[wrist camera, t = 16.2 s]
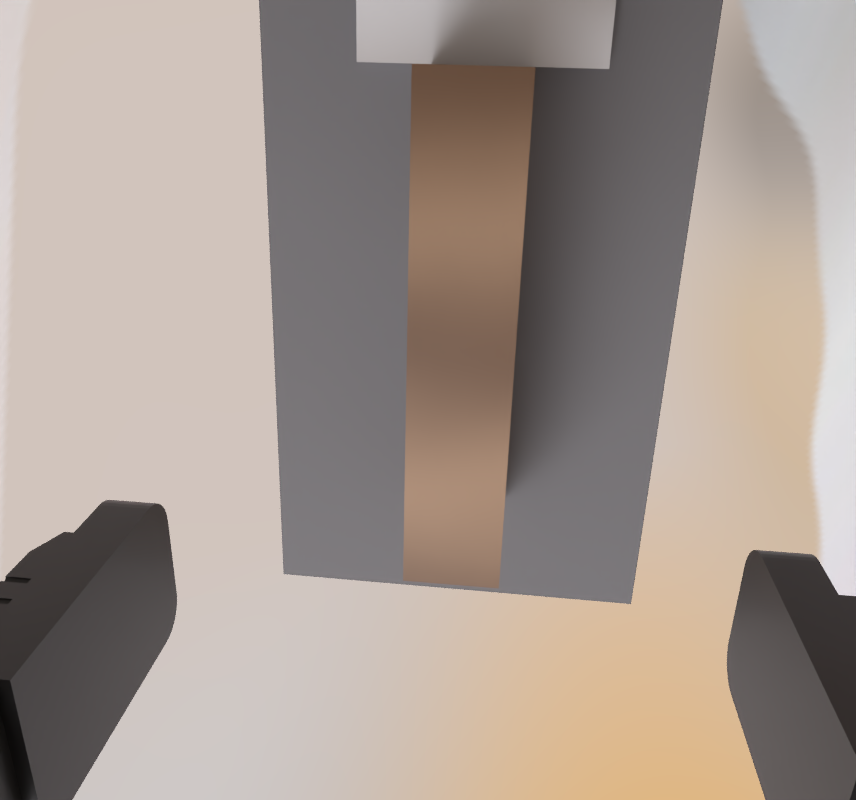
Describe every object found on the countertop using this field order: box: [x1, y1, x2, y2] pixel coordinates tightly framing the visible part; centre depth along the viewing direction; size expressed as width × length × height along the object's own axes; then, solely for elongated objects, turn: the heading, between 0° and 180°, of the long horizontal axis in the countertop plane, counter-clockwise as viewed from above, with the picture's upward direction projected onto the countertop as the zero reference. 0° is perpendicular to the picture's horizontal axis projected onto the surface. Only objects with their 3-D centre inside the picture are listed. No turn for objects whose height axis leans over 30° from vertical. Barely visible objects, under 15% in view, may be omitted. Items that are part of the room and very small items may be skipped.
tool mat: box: [259, 0, 723, 604], centre depth 22 cm, size 22×11×1 cm, turn 178°
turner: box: [356, 0, 616, 588], centre depth 19 cm, size 20×6×4 cm, turn 179°
